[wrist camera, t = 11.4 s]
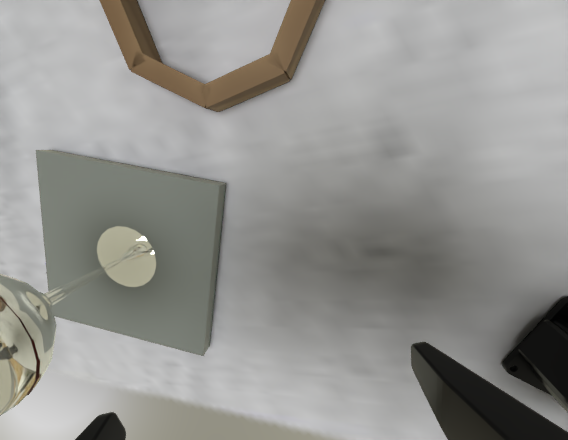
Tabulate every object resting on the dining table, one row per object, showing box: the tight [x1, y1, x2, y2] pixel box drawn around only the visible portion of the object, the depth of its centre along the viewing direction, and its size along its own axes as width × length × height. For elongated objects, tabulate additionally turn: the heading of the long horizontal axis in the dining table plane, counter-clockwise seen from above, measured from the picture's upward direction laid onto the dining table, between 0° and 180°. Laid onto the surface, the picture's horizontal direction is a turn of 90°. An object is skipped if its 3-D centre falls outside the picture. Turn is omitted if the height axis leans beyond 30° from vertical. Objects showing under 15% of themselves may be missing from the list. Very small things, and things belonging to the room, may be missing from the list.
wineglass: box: [0, 226, 156, 415], centre depth 15 cm, size 7×7×12 cm
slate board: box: [36, 150, 226, 356], centre depth 22 cm, size 14×14×1 cm
